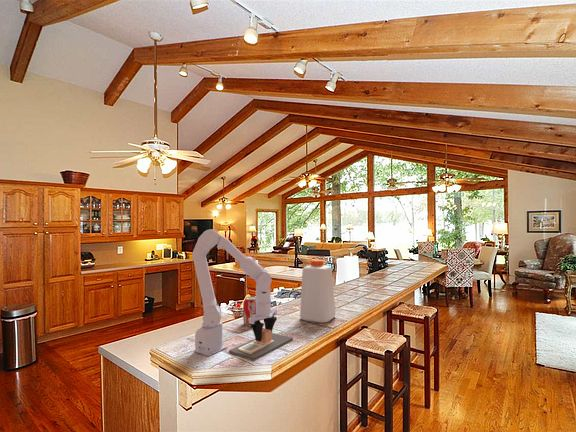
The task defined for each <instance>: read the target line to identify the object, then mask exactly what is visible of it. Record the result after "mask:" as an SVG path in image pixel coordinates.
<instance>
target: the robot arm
mask: <svg viewBox="0 0 576 432" xmlns="http://www.w3.org/2000/svg"><path fill="white" fill-rule="evenodd" d="M195 243H196V244H195V246H194V248H193V251H192V260H193V264H194V269H195V274H196V278H197V281H198V286H199V291H200V295H201V301H202V309H203V316H202V321H203V322H202V324H201V326H200V328H198V329H197V330H196V331H195V334H194V335H195V336H194V338H195V339H194V343H195V344H194V349H193V352H194V353H195V352H196V353H197V354H201V355H203V356H206V357H209V356H212V355H214V354H216V353H218V352H220V351H222V350H225V349H227V348H228V345H224V344H223V322H222V320H221V319H222V316H221V315H222V309H221V306H220V305H219V304H218V302H217V299H216V295H215V290H214V286H213V282H212V278H211V274H210V268H209V263H208V261H207V260H208V259H207V255H208V254H209V252H210V251H211V249H213V248H214V247H215V246H216V245H217V246H216V248H218V249H222V250H225V251H226V252H227V253H228V254H230V255H231V256H232V257H233V258H234V259H235V260H236V261H237V262H239V268H240V269H241V271H243V272H244V273H245V274H246V275H247V276H248V277H250V278H251V279H252V280H254V282H256V284H255V297H256V314H255V315H253V316H252V317H250V318H249V324H250V326H249V327H251V329H252V332H253V335H254V339H256V341H261V338H262V329H263V328H264V329H269V330H271V333H273V329H274V327H275V326H274V325H275V323H276V321H277V319H278V317H277V316H278V315H277V314H278V313H277V312H278V310H277V309H272V307H271V303H272V301H271V300H272V299H271V297H272V296H271V295H272V291H271V284H272V282H273V281H272V276H271V275H270V273H269V272H268V271H267V270H266V268H265V267H264V266H262V265H260V264H259V263H258V262H257V259H256V258H255V257H252V256H245V255H244V254H243V252H242V251H241V250H239V249H238V248H237V247H236V246H235V244H233V243H232V242H231V241H230V240H229V239H228V238H227V237H225V236H224V235H222V234H221V233H219V232H218V231H217V230H216V229H213V228H212V229H207V230H205V231H203V232H202V234H200V236H199V237H198V239H197V242H195ZM262 320H263V322H261V321H262Z"/></svg>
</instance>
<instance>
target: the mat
mask: <svg viewBox="0 0 576 432" xmlns="http://www.w3.org/2000/svg"><path fill="white" fill-rule="evenodd" d="M255 340H256V339H255V338H253V339H251V340H249V341H246V342H244V343H242V344H240V345H238V346H236V347H233V348H231V349H229V350H228V353H229V354H231V355H235V356H238V357H242V358H244V359H247V360H251V361H256V360H258V359H260V358H262V357H263V356H266V355H268V354H269V353H271V352H273V351H275V350H277V349H280V347H283V346H285V345H286V344H288V343H290V342H292V341H293V340H294V338H293V337H290V336H287V335H282V334H277V333H275V332H274V333H273V332H272V340H274V342H273V343H271V344H269V345H267V346H265V347H263V348H261V349H259V350H257V351H255V352H253V353H251V354H249V353H246V352H242V351H239V350H238V348H240V347H242V346H244V345H246V344H249V343H251V342H253V341H255Z"/></svg>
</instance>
